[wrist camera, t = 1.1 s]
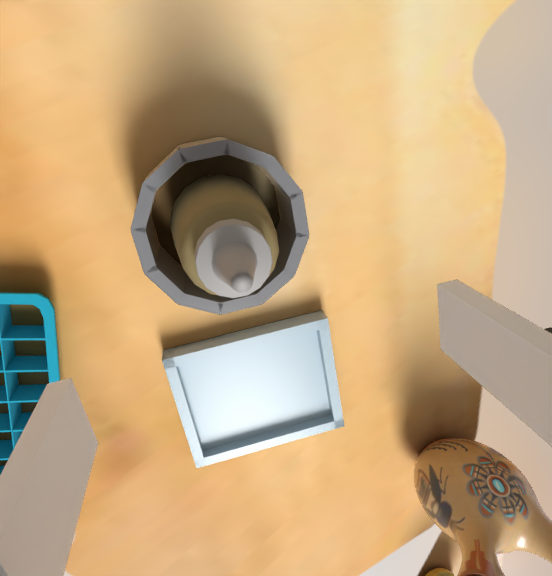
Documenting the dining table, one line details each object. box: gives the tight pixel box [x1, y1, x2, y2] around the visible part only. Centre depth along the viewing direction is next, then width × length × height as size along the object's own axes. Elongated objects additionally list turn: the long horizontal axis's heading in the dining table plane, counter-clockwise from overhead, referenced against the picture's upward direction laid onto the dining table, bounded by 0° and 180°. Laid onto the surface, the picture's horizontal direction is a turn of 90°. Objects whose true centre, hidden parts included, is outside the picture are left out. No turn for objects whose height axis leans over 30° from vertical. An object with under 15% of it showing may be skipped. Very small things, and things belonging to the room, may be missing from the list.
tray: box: [162, 310, 344, 468], centre depth 46 cm, size 16×13×2 cm
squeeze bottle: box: [170, 174, 279, 298], centre depth 32 cm, size 8×8×18 cm
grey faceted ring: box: [131, 136, 309, 315], centre depth 37 cm, size 13×13×6 cm
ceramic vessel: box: [414, 438, 552, 576], centre depth 44 cm, size 16×9×25 cm, turn 82°
